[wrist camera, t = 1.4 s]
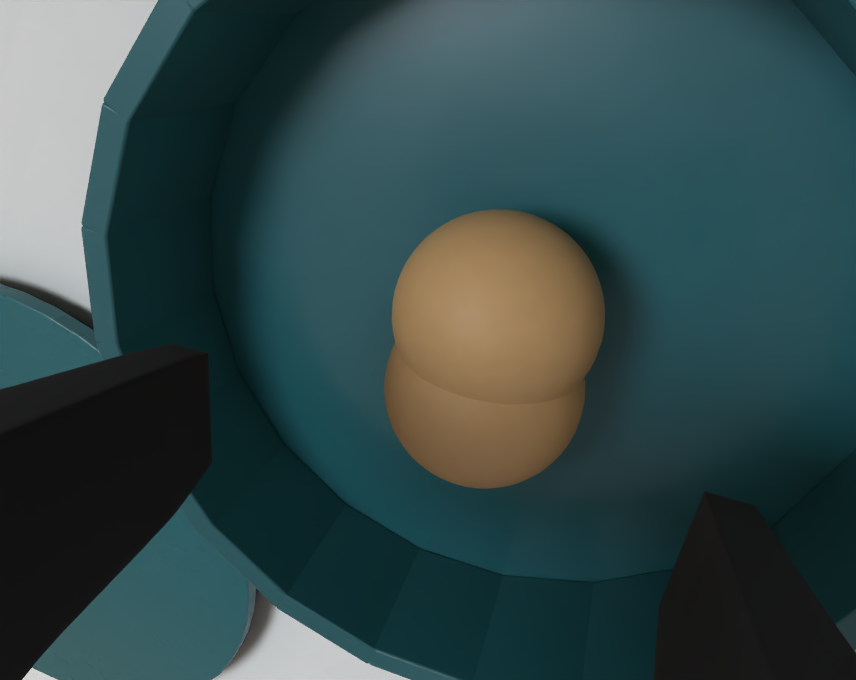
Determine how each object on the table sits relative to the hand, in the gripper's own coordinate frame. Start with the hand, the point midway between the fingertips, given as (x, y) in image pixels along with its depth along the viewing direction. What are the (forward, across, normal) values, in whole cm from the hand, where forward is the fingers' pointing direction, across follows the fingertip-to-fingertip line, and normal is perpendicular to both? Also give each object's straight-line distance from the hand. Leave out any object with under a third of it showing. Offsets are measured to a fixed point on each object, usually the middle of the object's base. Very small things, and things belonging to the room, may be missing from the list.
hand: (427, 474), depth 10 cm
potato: (+6, 0, 0) cm, 6 cm away
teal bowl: (+7, 0, 0) cm, 7 cm away
